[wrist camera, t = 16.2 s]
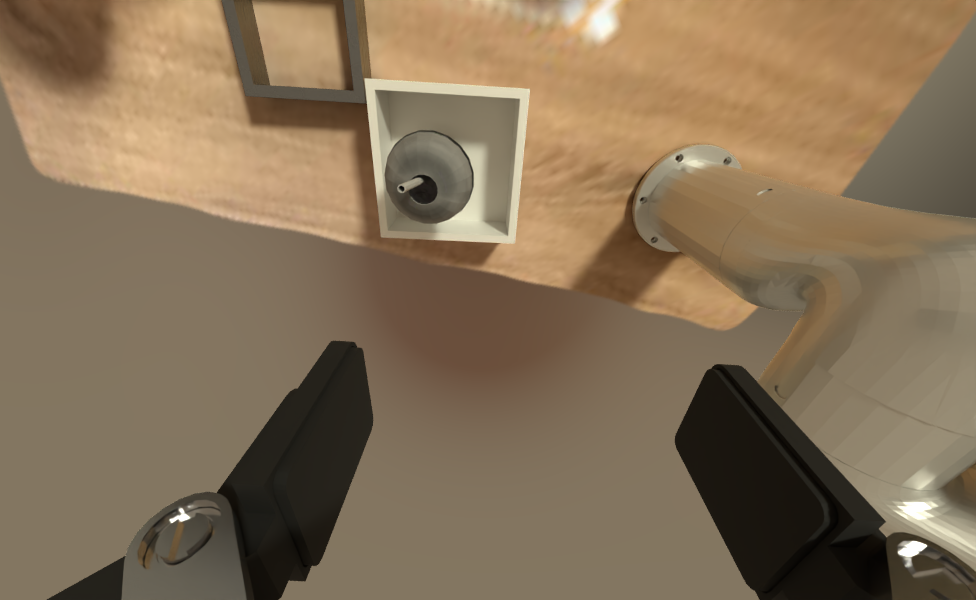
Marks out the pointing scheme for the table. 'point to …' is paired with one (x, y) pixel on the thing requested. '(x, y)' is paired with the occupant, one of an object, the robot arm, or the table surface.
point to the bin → (481, 133)
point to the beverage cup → (429, 176)
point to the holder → (254, 64)
